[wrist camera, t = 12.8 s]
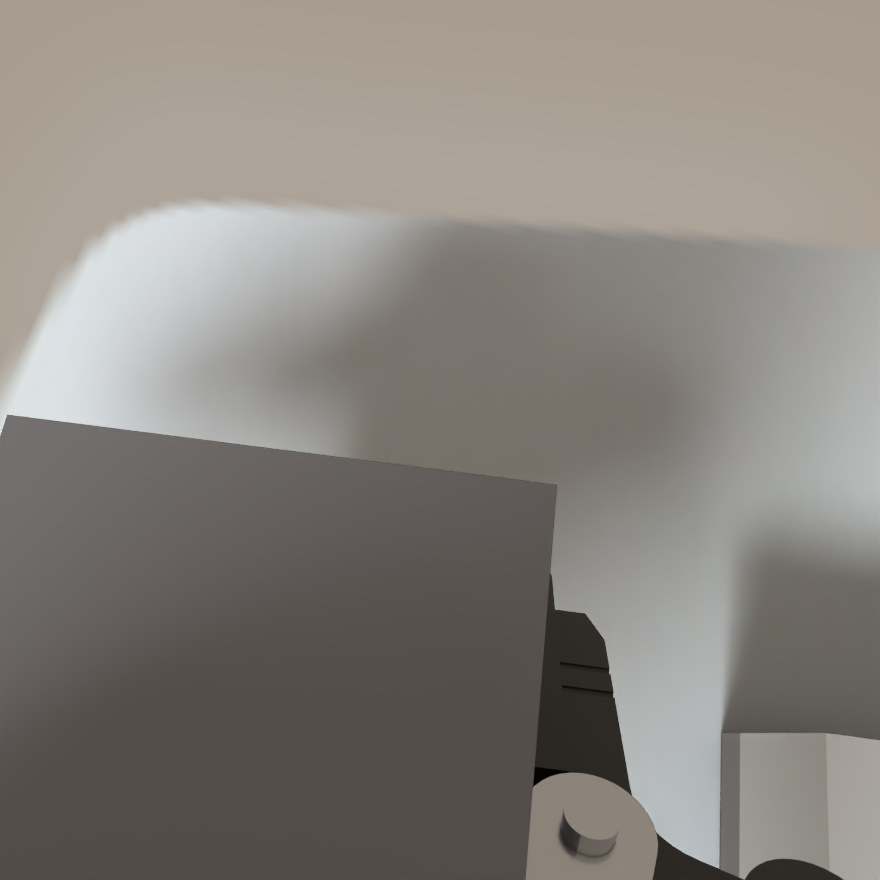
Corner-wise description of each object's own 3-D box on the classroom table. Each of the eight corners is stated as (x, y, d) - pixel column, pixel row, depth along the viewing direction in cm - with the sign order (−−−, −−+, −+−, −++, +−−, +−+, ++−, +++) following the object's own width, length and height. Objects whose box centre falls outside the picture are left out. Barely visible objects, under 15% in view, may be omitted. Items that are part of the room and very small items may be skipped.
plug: (473, 630, 16) (557, 484, 7) (445, 892, 15) (502, 1169, 5) (241, 599, 16) (6, 414, 7) (189, 858, 15) (-205, 1073, 5)
